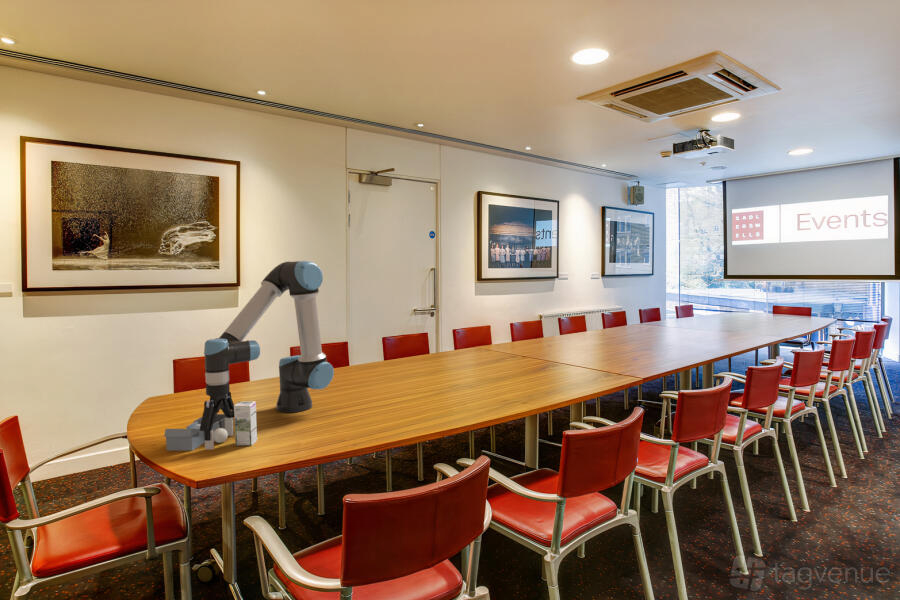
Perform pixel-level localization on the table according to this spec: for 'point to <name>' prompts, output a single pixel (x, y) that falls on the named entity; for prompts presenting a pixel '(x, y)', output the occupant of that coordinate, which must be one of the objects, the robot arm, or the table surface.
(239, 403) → the syrup box
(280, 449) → the table surface
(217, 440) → the pale rubber ball
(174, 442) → the launch ramp
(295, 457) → the table surface
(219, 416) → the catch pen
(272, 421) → the table surface
